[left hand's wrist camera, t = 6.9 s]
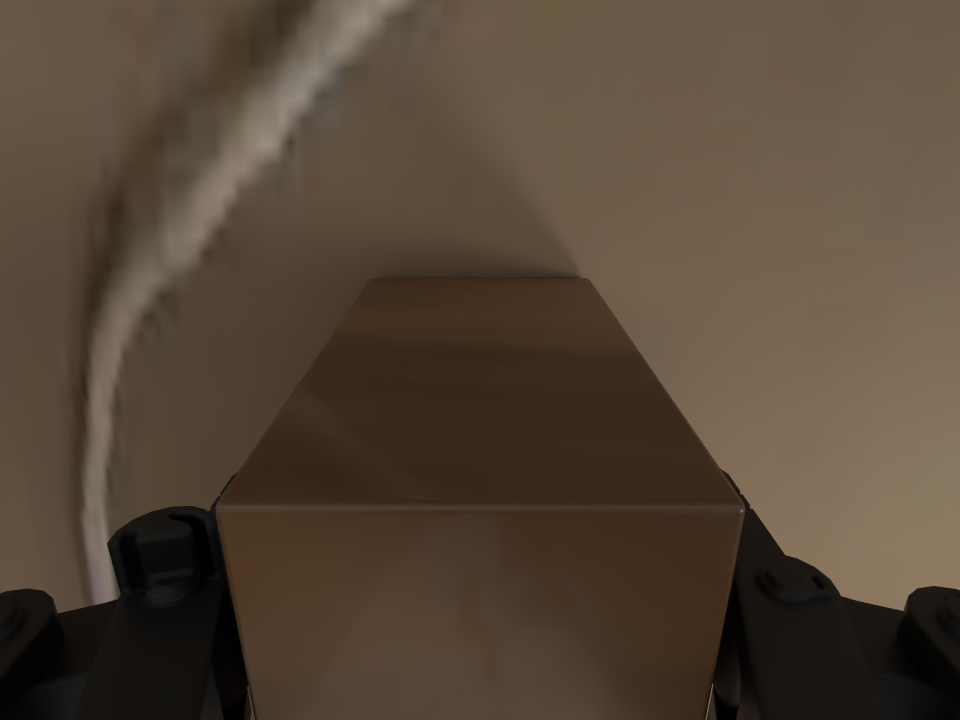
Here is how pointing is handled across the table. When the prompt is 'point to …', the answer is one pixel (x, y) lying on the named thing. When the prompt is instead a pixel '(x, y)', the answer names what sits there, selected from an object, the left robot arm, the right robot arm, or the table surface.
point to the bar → (480, 519)
